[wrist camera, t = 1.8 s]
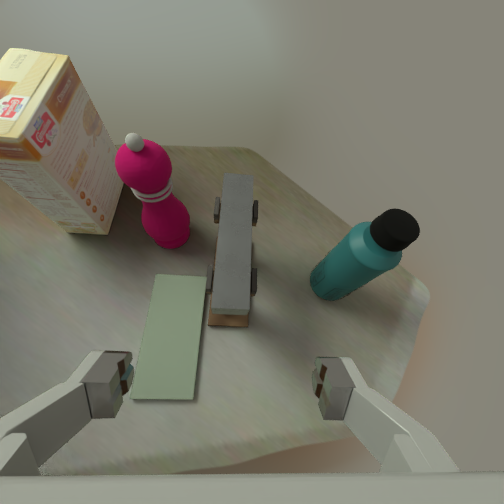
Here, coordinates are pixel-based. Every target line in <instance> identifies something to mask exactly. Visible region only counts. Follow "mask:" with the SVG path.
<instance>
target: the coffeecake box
mask: <svg viewBox="0 0 504 504" xmlns="http://www.w3.org/2000/svg"><path fill="white" fill-rule="evenodd" d="M116 154H117V149H116V147H115V146H114V144H113V142H112V140H111V138H110V136H109V134H108V132H107V130H106V129H105V126H104V124H103V122H102V121H101V118H100V117H99V115H98V113H97V111H96V109H95V107H94V105H93V103H92V101H91V99H90V97H89V95H88V93H87V91H86V89H85V88H84V86H83V84H82V82H81V80H80V78H79V76H78V74H77V72H76V71H75V68H74V66H73V64H72V62H71V61H70V58H69V56H68V55H61V54H53V53H43V52H37V51H31V50H28V49H19V48H10V49H9V50H8V51H7V52H6V54H5V55H4V56H3V57H2V59H1V60H0V179H1V180H3V181H4V182H5V183H7V184H8V185H9V186H10V187H11V188H13V189H14V190H15V191H16V192H18V193H19V194H20V195H21V196H23V197H24V198H25V199H26V200H28V201H29V202H30V203H31V204H33V205H34V206H35V207H36V208H37V209H39V210H40V211H41V212H42V213H44V214H45V215H46V216H47V217H49V218H50V219H51V220H52V221H54V222H55V223H56V224H57V225H58V226H60V227H61V228H62V229H64V230H65V231H66V232H68V233H88V234H100V235H108V233H109V230H110V227H111V223H112V220H113V217H114V214H115V210H116V207H117V204H118V200H119V197H120V194H121V191H122V187H123V184H124V182H123V181H122V180H121V178H120V177H119V175H118V173H117V171H116V167H115V157H116Z"/></svg>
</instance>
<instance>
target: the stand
mask: <svg viewBox="0 0 504 504" xmlns="http://www.w3.org/2000/svg"><path fill="white" fill-rule="evenodd" d="M220 211H221V203H220V197H216V200H215V209H214V222H215V223H219V221H220ZM257 219H258V201H257V200H254V204H253V206H252V226H256V223H257ZM217 241H218V236H217V240H216V250H215V260H214V270H213V266H208V271H207V280H206V292H207V294H211V300H210V309H209V319H208V326H231V327H248V315H249V312H248V314H247V315H228V314H212V310H211V302H212V292H213V281H214V271H215V261H216V251H217ZM256 292H257V269H256V268H252V271H251V277H250V296H255V294H256Z"/></svg>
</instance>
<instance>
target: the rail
mask: <svg viewBox="0 0 504 504" xmlns="http://www.w3.org/2000/svg"><path fill="white" fill-rule="evenodd" d="M252 206H253V176H252V175H241V174H231V173H224V180H223V190H222V200H221V211H220V221H219V231H218V241H217V251H216V261H215V271H214V281H213V292H212V302H211V310H212V314H228V315H247V314H248V312H249V310H250V277H251V241H252Z"/></svg>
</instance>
